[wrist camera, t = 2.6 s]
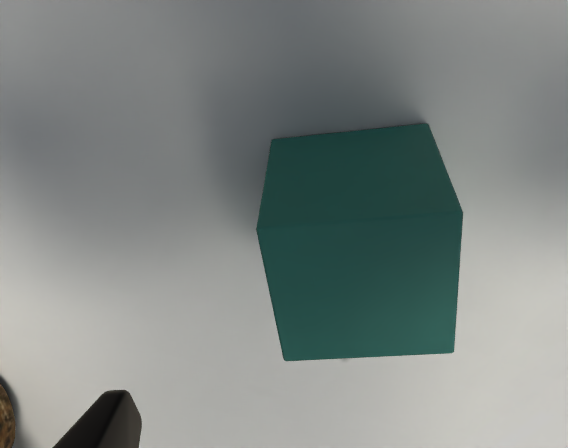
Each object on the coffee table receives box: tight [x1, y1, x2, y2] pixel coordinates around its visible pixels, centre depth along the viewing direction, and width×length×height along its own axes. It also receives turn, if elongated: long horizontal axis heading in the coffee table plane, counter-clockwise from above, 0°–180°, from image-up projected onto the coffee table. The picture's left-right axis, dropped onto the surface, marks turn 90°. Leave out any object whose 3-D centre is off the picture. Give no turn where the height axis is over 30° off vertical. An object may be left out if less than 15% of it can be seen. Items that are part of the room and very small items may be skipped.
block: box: [256, 124, 463, 361], centre depth 13 cm, size 4×4×4 cm
